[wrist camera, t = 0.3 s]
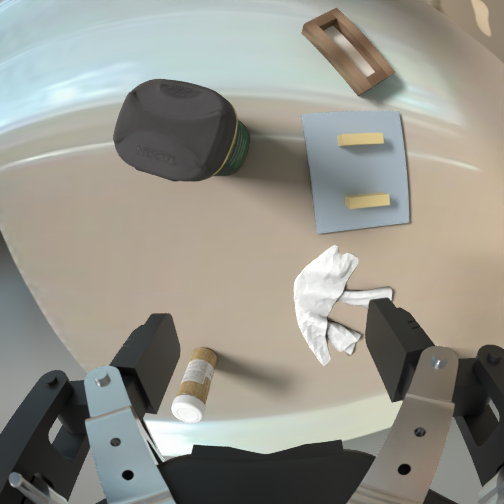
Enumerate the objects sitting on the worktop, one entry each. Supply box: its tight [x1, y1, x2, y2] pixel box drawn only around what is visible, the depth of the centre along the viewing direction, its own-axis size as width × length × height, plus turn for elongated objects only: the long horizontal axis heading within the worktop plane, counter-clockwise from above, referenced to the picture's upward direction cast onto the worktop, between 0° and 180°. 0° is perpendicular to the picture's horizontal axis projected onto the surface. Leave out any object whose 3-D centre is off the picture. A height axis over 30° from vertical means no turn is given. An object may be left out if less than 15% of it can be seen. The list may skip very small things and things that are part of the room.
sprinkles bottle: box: [171, 348, 217, 423], centre depth 39 cm, size 5×5×14 cm
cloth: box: [294, 245, 392, 365], centre depth 41 cm, size 20×22×2 cm
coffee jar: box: [113, 79, 250, 182], centre depth 26 cm, size 10×8×19 cm
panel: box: [301, 111, 409, 234], centre depth 33 cm, size 16×14×3 cm
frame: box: [302, 8, 395, 96], centre depth 28 cm, size 12×6×3 cm, turn 39°
